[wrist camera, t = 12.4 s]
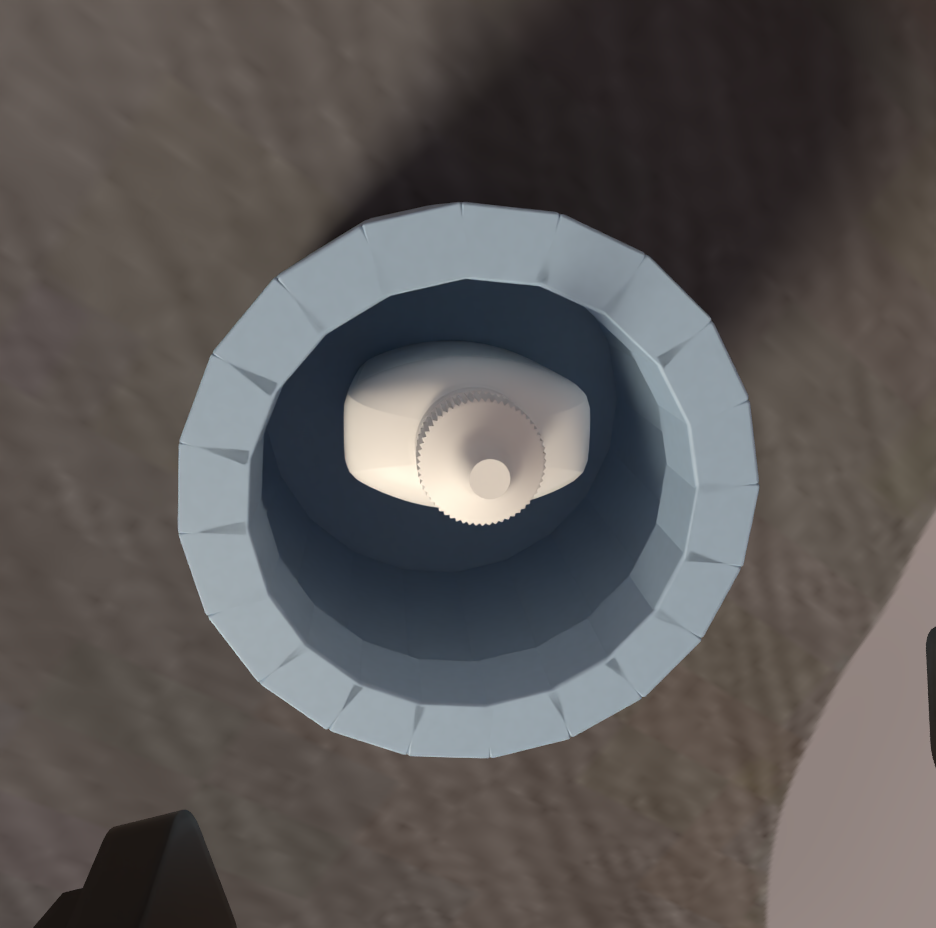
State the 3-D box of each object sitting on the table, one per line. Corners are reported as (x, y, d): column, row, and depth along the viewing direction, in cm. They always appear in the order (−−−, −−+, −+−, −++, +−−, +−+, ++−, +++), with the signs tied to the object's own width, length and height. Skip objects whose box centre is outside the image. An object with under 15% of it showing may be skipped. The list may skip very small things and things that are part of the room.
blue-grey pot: (200, 256, 25) (92, 283, 16) (593, 168, 26) (722, 143, 16) (307, 613, 29) (272, 813, 19) (650, 531, 29) (784, 687, 20)
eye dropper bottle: (404, 286, 25) (407, 279, 14) (564, 379, 26) (696, 447, 15) (334, 413, 26) (279, 511, 14) (493, 500, 27) (564, 659, 15)
